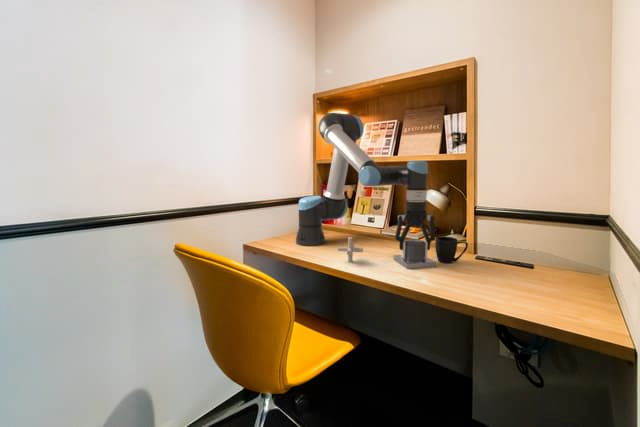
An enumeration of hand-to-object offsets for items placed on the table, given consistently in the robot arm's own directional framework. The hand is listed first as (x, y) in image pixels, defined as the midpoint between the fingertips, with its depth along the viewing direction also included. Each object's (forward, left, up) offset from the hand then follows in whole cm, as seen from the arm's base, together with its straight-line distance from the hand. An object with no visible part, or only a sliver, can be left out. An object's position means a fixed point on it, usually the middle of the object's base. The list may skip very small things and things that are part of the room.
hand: (414, 257), depth 126 cm
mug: (+2, +15, -3) cm, 15 cm away
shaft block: (0, 0, -2) cm, 2 cm away
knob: (0, 0, 0) cm, 0 cm away
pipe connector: (-8, -24, -3) cm, 25 cm away
